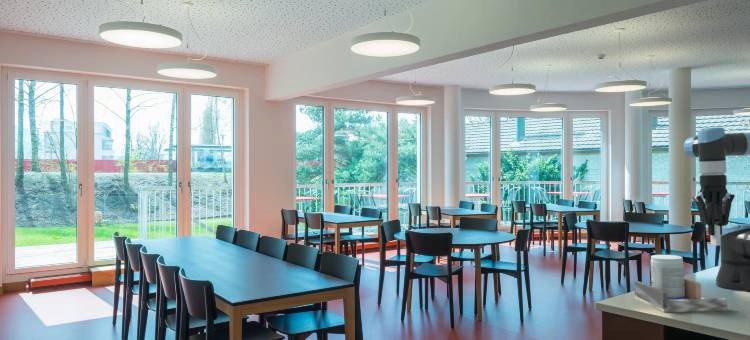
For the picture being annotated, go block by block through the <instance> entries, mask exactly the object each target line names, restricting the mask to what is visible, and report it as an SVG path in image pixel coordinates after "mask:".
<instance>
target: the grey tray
mask: <svg viewBox="0 0 750 340" xmlns="http://www.w3.org/2000/svg"><path fill="white" fill-rule="evenodd" d="M634 299H635V300H637V301H640V302H641V303H642V304H643V303H644V304H645V305H647V306H650V307H652V308H654V309H657V310H658V311H660V312H662V313H682V312H683V313H685V312H689V311H691V312H718V311H719V312H722V311H725V312H726V311H728V298H723V297H721V298H720V297H718V298H704V297H702V296H701V299H680V300H667V293H666V292H663V291H661V290H658V289H656V288H654V287H652V285H648V284H646V283H643V282H642V281H639V280H635V281H634ZM689 313H690V312H689Z"/></svg>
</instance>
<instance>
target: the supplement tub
mask: <svg viewBox="0 0 750 340" xmlns="http://www.w3.org/2000/svg"><path fill="white" fill-rule="evenodd" d="M683 258H684V257H682V256H681V255H674V254H653V255H650V276H651V277H650V278H651V287H654V288H656V289H658V290H661V291H663V292H666V293H667V300H680V299H685V281H684V278H685V267H684V259H683Z"/></svg>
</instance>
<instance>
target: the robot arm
mask: <svg viewBox="0 0 750 340" xmlns="http://www.w3.org/2000/svg"><path fill="white" fill-rule="evenodd" d="M683 151H684V153H685V155H687V156H688V157H691V158H698V165H699V167H698V168H699V170H698V171H699V172H698V173H699V174H700V175H699V185H700V190H699V193H698V194H697V195H693V196H692V199H693V201H694V202H695V204H696V207H697V210H698V213H699V218H700V221H701V223H702V224H704V225H706V226H707V231H708V232H707V234H708V235H709V236H710V245H711V246H717V247H718V246H720V247H719V248H720V266H719V269H718V272H717V276H716V277H715V285H716V286H717V287H720V288H723V289H727V290H734V291H743V292H745V291H746V292H747V291H748V292H750V224H749V223H746V224H745V223H744V224H729V225H728V223H729V220H730V214H731V209H732V204H733V200H734V199H735V196H736V195H735V194H733V193H729V192H728V189H727V184H728V180H727V179H728V178H727V177H728V176H727V175H726V173H727V157H742V156H743V157H746V156H749V157H750V133H748V132H747V133H745V132H733V133H731V132H730V133H726V132H725V128H724V127H708V128H707V127H705V128H700V129H699V130H698V132H697V135H695V136H690V137H688V138H686V140H685V141H684V143H683ZM725 224H727V225H725Z"/></svg>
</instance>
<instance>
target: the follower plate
mask: <svg viewBox="0 0 750 340" xmlns="http://www.w3.org/2000/svg"><path fill="white" fill-rule="evenodd" d="M684 281H685V299H701V297H702V285H701V284H702V283H701V282H699V281H695V280H692V279H690V278H687V277H684Z"/></svg>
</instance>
